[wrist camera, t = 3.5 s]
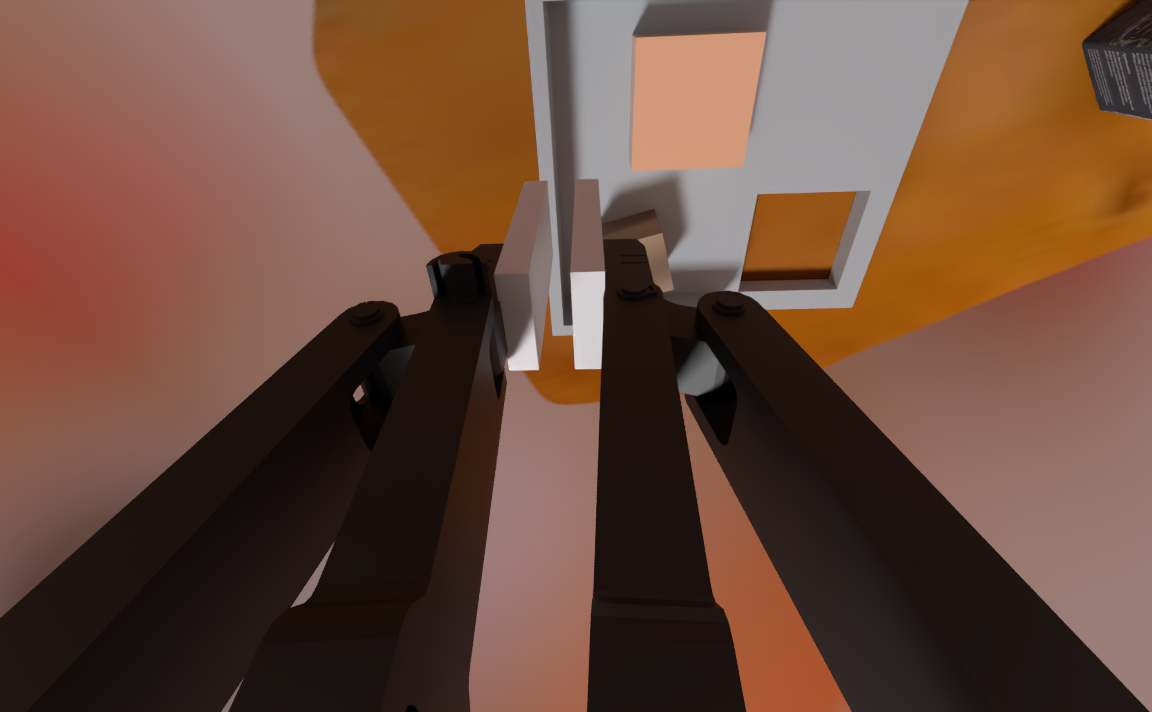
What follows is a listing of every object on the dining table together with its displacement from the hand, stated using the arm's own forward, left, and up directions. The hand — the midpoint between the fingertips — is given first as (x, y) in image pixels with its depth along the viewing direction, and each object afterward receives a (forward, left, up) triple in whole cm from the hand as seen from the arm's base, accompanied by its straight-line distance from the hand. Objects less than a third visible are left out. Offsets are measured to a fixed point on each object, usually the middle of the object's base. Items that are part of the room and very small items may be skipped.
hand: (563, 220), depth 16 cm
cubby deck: (+5, +12, -24) cm, 27 cm away
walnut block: (+11, +4, -22) cm, 25 cm away
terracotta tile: (0, +8, -22) cm, 24 cm away
